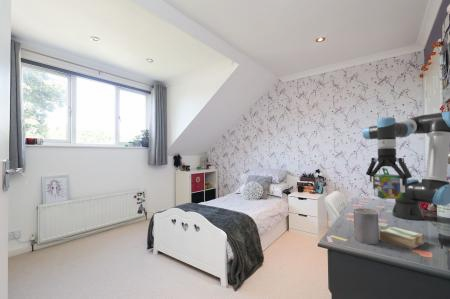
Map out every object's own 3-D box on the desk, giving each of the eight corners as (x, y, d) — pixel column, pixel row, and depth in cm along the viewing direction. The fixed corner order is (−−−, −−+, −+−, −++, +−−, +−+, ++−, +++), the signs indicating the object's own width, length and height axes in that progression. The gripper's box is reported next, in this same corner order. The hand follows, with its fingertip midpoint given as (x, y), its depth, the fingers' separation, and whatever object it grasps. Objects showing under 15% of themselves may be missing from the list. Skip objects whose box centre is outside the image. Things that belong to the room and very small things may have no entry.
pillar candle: (358, 235, 108) (357, 204, 108) (382, 240, 101) (380, 207, 101) (351, 240, 102) (349, 208, 102) (376, 247, 94) (374, 212, 94)
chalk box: (403, 199, 105) (402, 168, 106) (381, 198, 107) (381, 168, 108) (393, 196, 114) (392, 167, 115) (373, 195, 116) (373, 167, 117)
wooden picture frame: (393, 234, 108) (392, 226, 108) (424, 243, 97) (423, 233, 97) (379, 239, 102) (379, 230, 102) (411, 249, 91) (410, 239, 91)
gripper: (358, 148, 121) (359, 187, 120) (411, 147, 99) (413, 194, 98) (366, 148, 124) (367, 186, 124) (420, 147, 102) (421, 193, 102)
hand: (387, 190), depth 111 cm, fingers closed on chalk box, 12 cm apart
